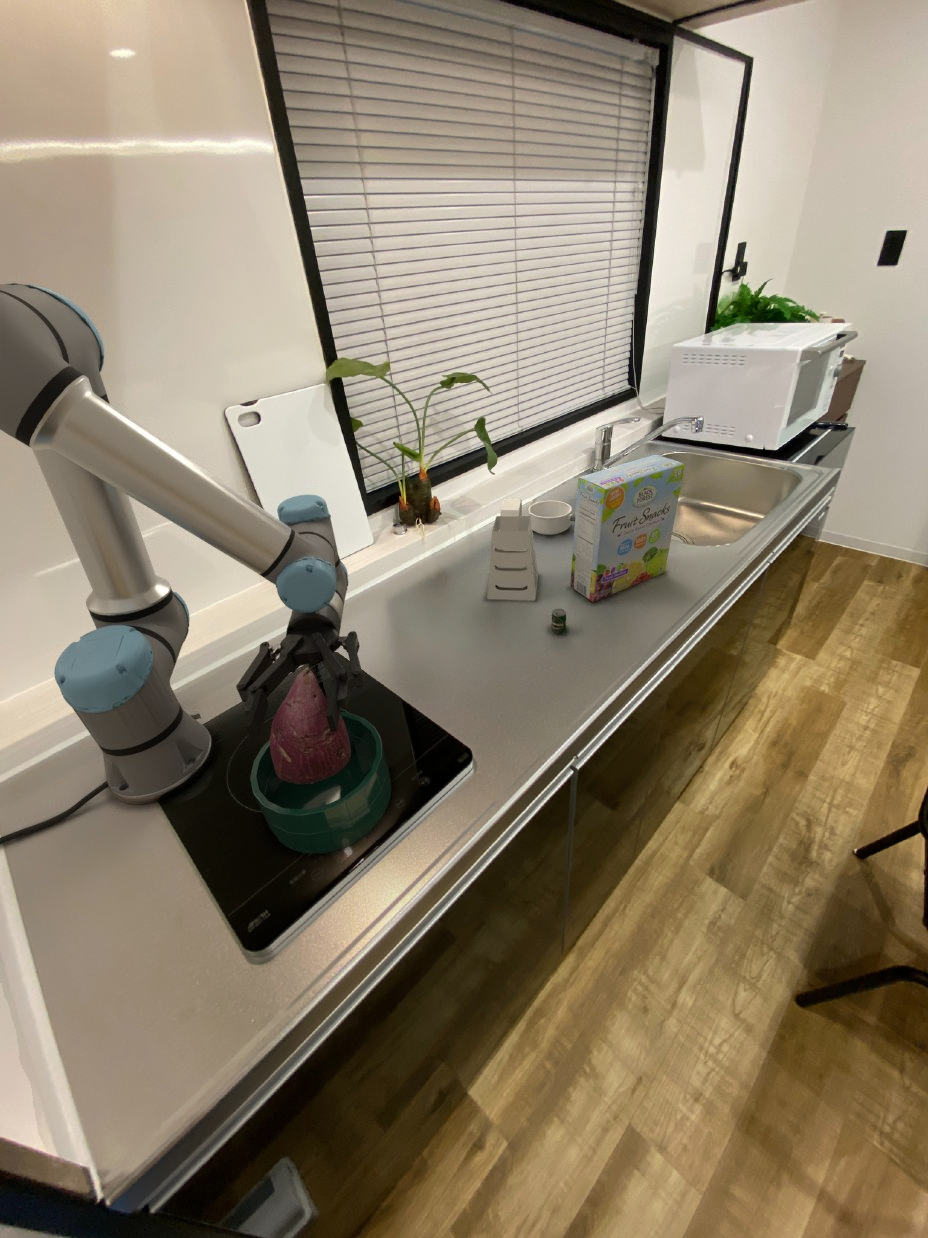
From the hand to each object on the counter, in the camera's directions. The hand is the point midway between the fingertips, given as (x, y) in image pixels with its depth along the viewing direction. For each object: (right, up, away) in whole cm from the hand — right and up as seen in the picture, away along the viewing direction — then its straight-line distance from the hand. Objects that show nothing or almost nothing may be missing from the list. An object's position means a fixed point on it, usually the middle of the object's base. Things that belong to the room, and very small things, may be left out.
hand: (291, 729), depth 63 cm
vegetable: (0, -6, +9) cm, 11 cm away
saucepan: (+47, +36, +80) cm, 99 cm away
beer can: (+39, +11, +44) cm, 60 cm away
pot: (+1, -13, +15) cm, 20 cm away
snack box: (+55, +21, +57) cm, 82 cm away
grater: (+32, +20, +58) cm, 69 cm away
